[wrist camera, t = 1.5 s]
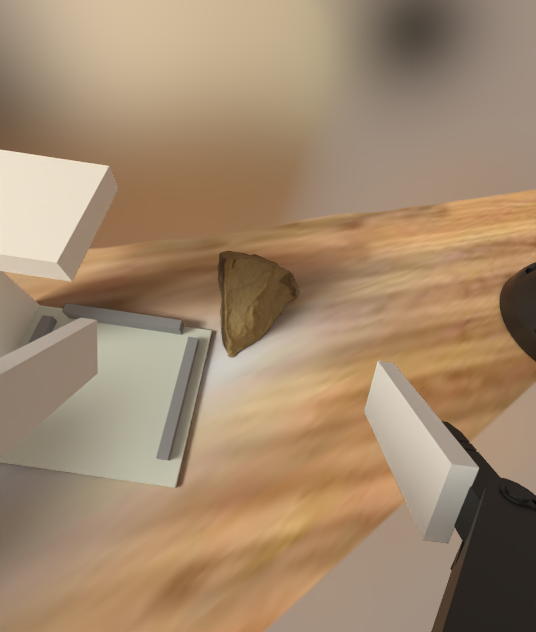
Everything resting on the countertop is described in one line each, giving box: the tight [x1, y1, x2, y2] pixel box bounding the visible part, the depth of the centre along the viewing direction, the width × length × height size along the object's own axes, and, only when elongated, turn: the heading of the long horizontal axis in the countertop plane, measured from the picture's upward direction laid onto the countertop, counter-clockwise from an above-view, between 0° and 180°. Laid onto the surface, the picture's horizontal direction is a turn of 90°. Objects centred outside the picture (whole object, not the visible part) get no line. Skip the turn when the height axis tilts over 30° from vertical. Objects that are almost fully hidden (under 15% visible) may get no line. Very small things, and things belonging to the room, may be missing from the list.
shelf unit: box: [0, 150, 212, 488], centre depth 23 cm, size 21×15×20 cm
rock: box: [218, 251, 299, 357], centre depth 34 cm, size 11×9×10 cm
